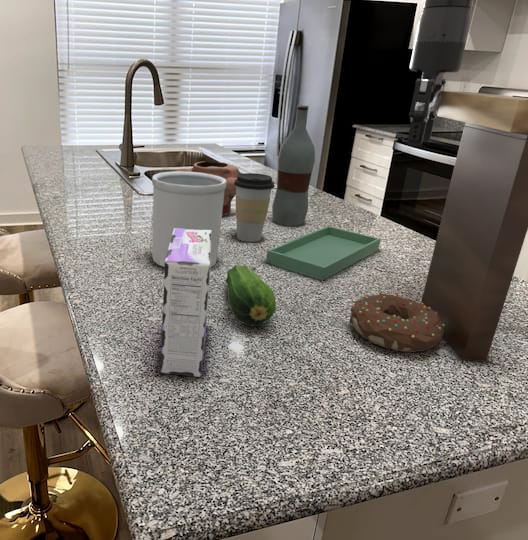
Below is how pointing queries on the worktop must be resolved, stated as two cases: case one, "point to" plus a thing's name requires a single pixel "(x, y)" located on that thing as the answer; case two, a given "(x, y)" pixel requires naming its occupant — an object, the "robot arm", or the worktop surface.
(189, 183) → the utensil holder
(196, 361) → the candy box
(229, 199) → the decorative planter
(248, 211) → the coffee cup
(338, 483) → the worktop surface
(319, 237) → the tray
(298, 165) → the vodka
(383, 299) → the donut
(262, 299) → the vegetable
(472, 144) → the walnut stand
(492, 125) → the beech stick
